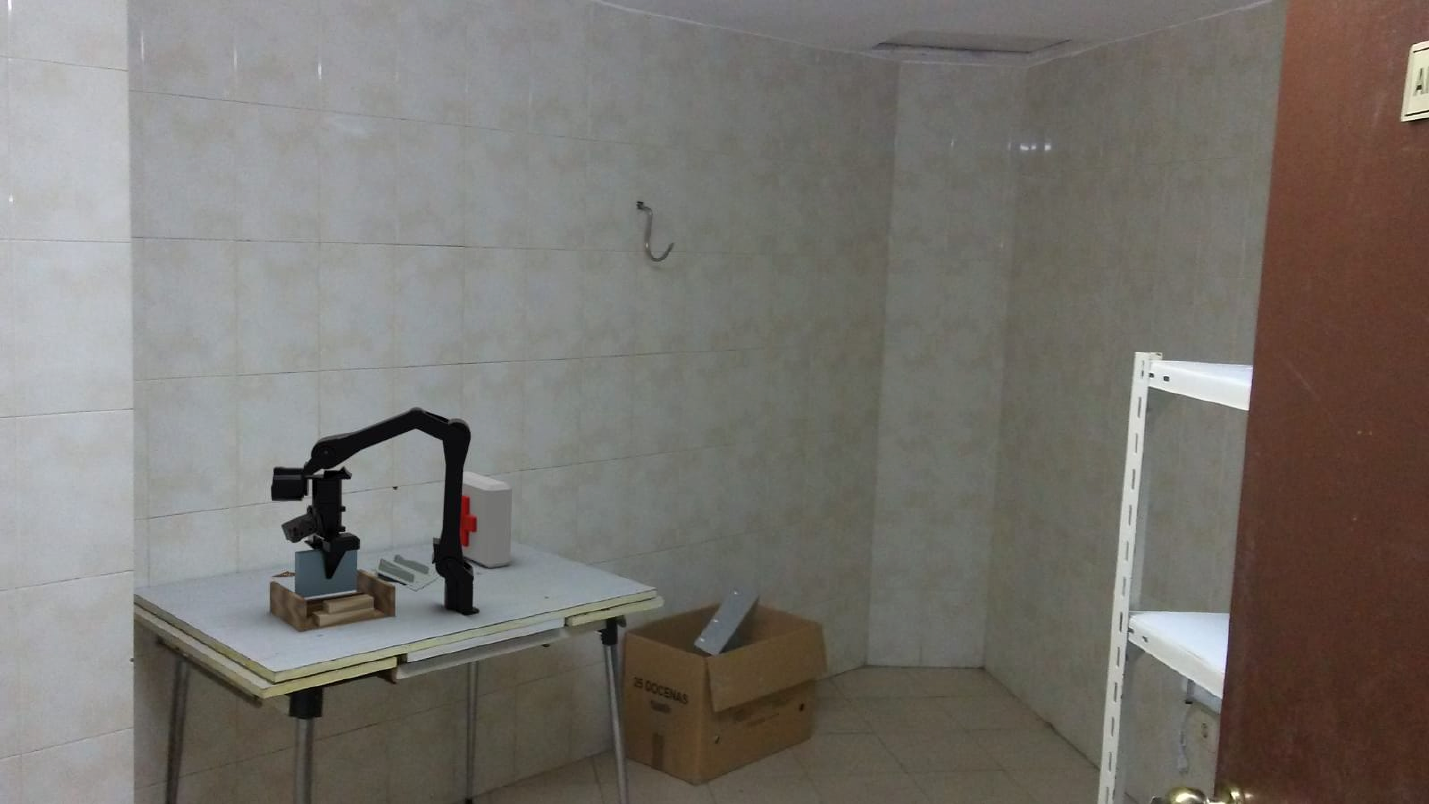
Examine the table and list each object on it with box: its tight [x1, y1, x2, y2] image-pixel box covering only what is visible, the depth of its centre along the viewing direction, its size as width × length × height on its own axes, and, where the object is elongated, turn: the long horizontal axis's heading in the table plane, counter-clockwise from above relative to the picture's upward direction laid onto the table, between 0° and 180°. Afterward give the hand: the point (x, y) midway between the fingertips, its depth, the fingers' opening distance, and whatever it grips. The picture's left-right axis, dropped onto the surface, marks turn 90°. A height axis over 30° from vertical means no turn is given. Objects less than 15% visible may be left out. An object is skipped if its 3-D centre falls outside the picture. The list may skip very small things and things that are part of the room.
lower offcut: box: [312, 608, 374, 627], centre depth 229 cm, size 4×11×2 cm, turn 131°
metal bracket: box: [371, 553, 441, 592], centre depth 263 cm, size 14×6×15 cm
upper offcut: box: [323, 594, 374, 615], centre depth 229 cm, size 3×9×2 cm, turn 131°
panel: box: [294, 549, 358, 599], centre depth 234 cm, size 2×12×9 cm, turn 131°
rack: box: [269, 568, 397, 633], centre depth 233 cm, size 16×19×7 cm
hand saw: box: [271, 570, 295, 578], centre depth 255 cm, size 24×5×1 cm, turn 161°
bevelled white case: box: [460, 471, 513, 569], centre depth 284 cm, size 21×8×20 cm, turn 40°
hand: (326, 577), depth 235 cm, fingers closed on panel, 2 cm apart
